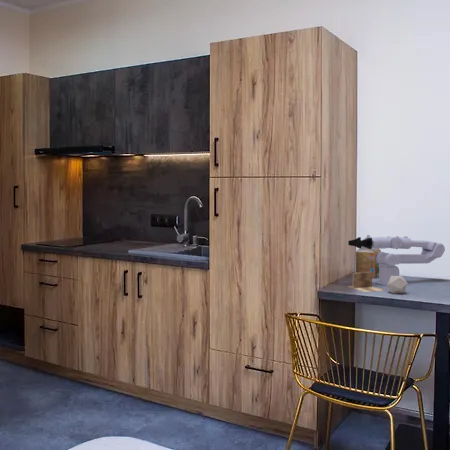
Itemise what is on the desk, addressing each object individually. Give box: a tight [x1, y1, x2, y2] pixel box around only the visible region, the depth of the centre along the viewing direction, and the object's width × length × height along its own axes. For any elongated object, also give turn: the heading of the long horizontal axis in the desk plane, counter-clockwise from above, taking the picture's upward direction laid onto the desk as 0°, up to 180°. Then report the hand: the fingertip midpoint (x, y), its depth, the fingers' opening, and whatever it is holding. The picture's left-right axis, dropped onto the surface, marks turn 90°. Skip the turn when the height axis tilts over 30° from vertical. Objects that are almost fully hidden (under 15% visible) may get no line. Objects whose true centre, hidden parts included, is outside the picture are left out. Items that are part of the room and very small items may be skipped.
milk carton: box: [355, 247, 382, 280], centre depth 296 cm, size 11×11×19 cm
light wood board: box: [347, 285, 388, 293], centre depth 260 cm, size 12×16×1 cm
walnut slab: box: [352, 272, 373, 289], centre depth 263 cm, size 9×2×7 cm, turn 108°
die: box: [386, 275, 409, 294], centre depth 248 cm, size 8×9×10 cm
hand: (352, 243), depth 266 cm, fingers open, 7 cm apart
